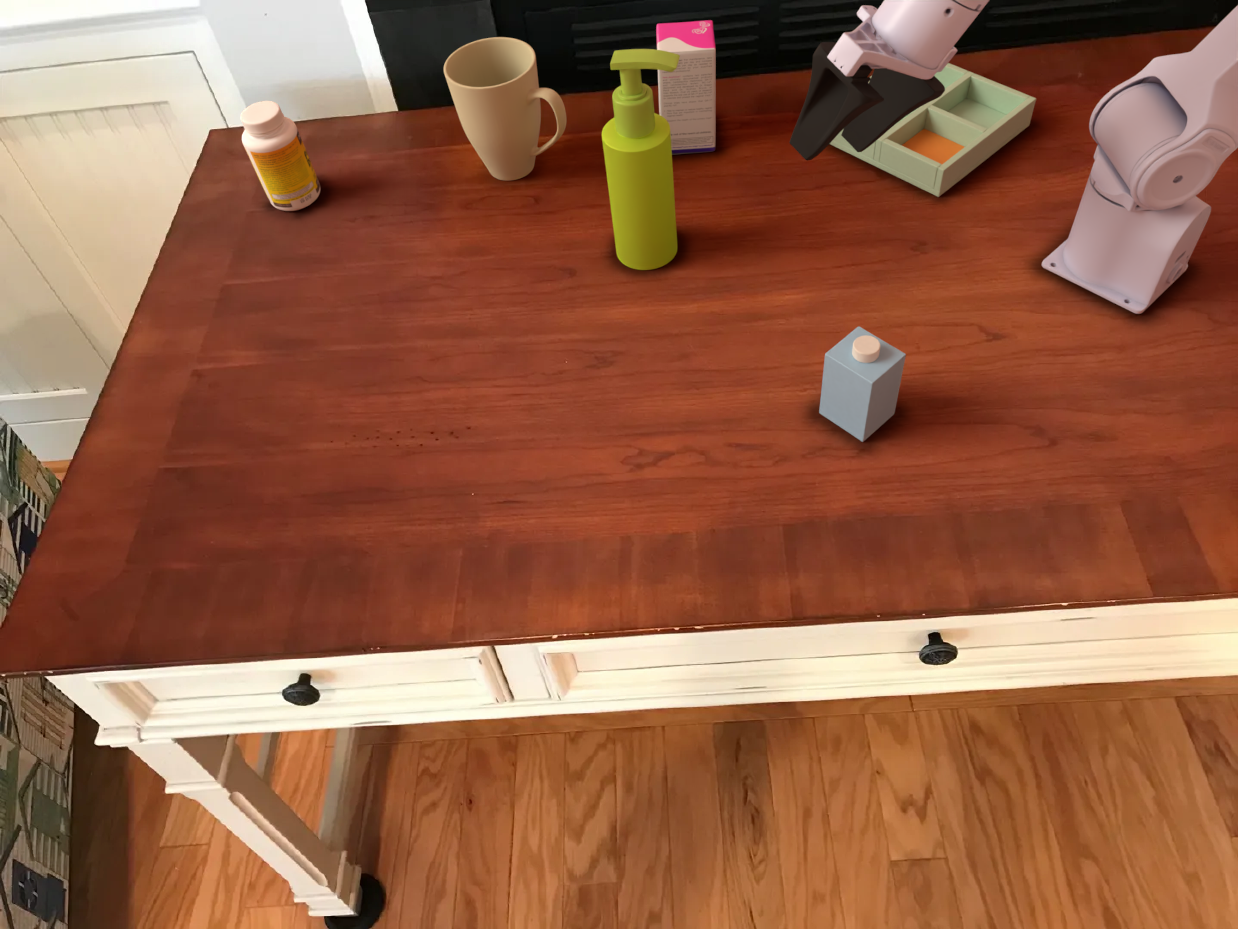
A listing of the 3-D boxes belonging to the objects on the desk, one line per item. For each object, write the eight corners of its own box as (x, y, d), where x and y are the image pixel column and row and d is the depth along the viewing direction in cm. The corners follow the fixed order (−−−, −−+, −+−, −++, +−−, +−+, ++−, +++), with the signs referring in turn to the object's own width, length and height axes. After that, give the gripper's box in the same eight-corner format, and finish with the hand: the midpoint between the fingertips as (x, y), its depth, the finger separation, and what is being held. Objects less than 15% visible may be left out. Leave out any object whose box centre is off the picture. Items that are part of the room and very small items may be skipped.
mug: (472, 205, 101) (445, 100, 91) (468, 148, 107) (442, 44, 97) (577, 187, 101) (561, 81, 91) (567, 132, 107) (550, 27, 98)
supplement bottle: (331, 196, 104) (297, 110, 96) (286, 220, 102) (247, 135, 94) (307, 173, 107) (271, 88, 99) (261, 197, 105) (222, 113, 97)
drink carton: (894, 414, 79) (908, 344, 73) (862, 442, 78) (873, 374, 71) (850, 385, 81) (859, 316, 75) (818, 413, 80) (825, 344, 74)
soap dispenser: (683, 272, 92) (672, 76, 76) (611, 268, 93) (585, 74, 77) (692, 231, 95) (683, 35, 79) (622, 228, 96) (600, 34, 80)
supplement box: (717, 152, 102) (715, 48, 93) (661, 156, 103) (653, 54, 94) (714, 119, 106) (712, 17, 97) (660, 123, 106) (652, 22, 97)
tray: (1029, 125, 100) (1036, 98, 98) (938, 197, 95) (943, 170, 92) (907, 73, 108) (911, 47, 105) (817, 137, 102) (818, 111, 100)
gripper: (952, -48, 71) (839, 107, 81) (854, -62, 61) (738, 116, 71) (1020, 15, 70) (897, 166, 79) (931, 11, 60) (802, 184, 69)
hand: (826, 147), depth 75 cm, fingers open, 7 cm apart
